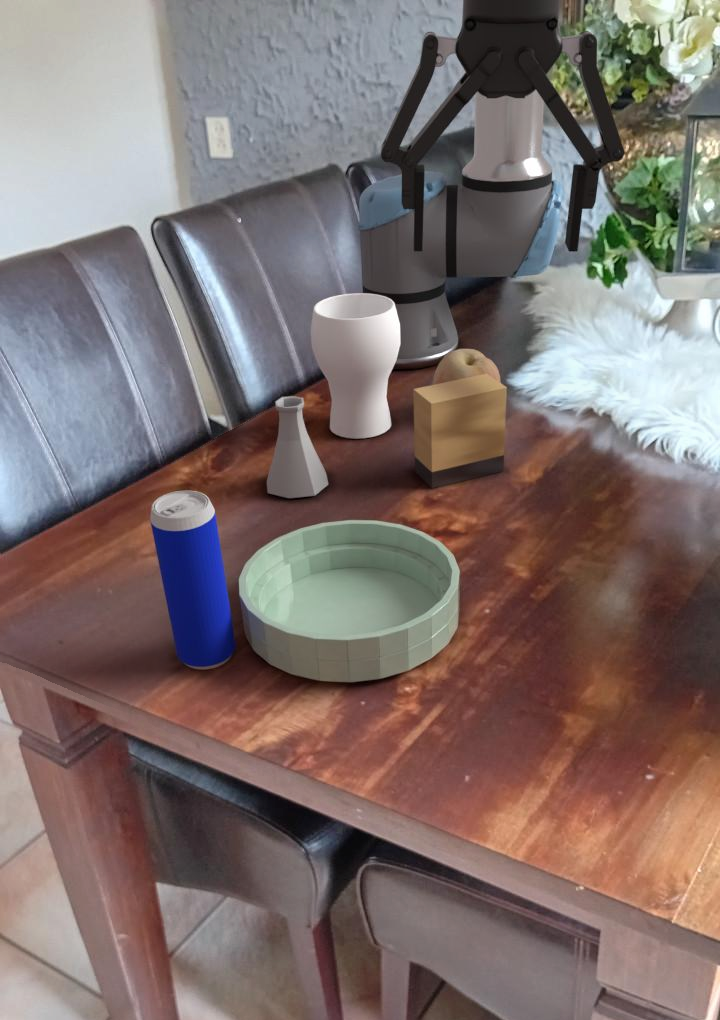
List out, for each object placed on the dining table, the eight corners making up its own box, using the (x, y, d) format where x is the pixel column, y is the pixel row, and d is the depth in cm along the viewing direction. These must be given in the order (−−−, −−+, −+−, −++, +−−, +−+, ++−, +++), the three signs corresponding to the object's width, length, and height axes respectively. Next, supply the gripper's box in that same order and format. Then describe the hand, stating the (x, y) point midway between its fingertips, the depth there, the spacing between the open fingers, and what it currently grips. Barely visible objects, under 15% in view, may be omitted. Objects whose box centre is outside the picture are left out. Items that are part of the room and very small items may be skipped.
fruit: (455, 432, 123) (455, 369, 118) (423, 410, 128) (422, 349, 124) (510, 418, 125) (513, 355, 120) (477, 396, 131) (478, 336, 126)
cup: (304, 438, 123) (293, 317, 114) (338, 405, 131) (330, 288, 122) (385, 449, 120) (380, 324, 111) (414, 413, 128) (412, 294, 119)
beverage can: (212, 630, 91) (187, 482, 82) (248, 653, 88) (226, 501, 79) (166, 656, 88) (134, 505, 79) (201, 680, 85) (173, 526, 76)
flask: (321, 502, 110) (314, 416, 104) (257, 498, 111) (247, 414, 105) (335, 472, 116) (329, 389, 110) (275, 469, 117) (266, 387, 111)
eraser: (485, 455, 117) (487, 373, 111) (503, 471, 114) (506, 387, 108) (414, 472, 115) (413, 388, 109) (431, 488, 111) (431, 403, 105)
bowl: (270, 561, 100) (264, 517, 97) (464, 567, 98) (465, 522, 95) (222, 682, 85) (214, 634, 82) (451, 693, 82) (451, 644, 79)
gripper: (349, -36, 74) (352, 259, 87) (690, -39, 73) (643, 259, 86) (353, -42, 80) (356, 235, 93) (668, -45, 79) (627, 235, 92)
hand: (494, 247), depth 89 cm, fingers open, 13 cm apart
